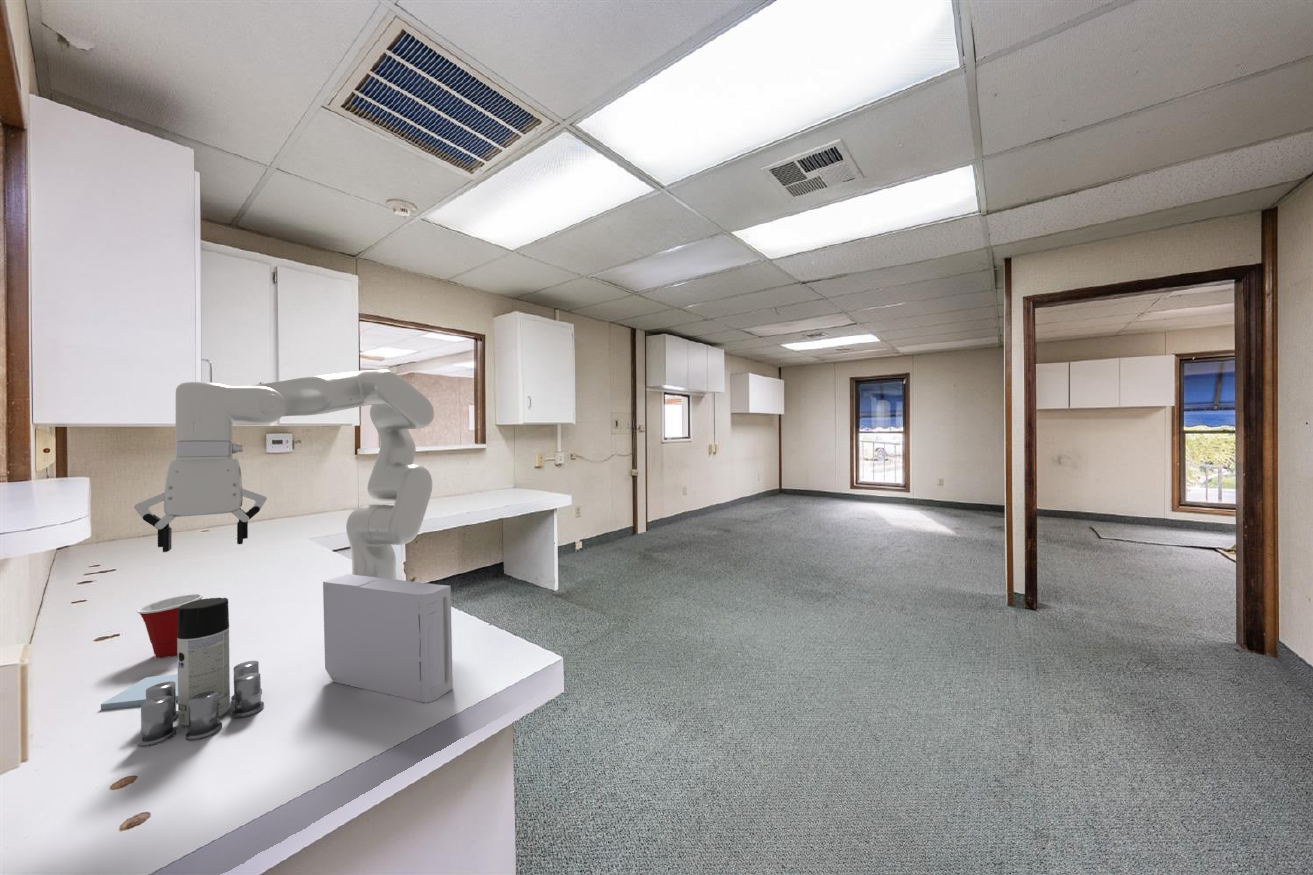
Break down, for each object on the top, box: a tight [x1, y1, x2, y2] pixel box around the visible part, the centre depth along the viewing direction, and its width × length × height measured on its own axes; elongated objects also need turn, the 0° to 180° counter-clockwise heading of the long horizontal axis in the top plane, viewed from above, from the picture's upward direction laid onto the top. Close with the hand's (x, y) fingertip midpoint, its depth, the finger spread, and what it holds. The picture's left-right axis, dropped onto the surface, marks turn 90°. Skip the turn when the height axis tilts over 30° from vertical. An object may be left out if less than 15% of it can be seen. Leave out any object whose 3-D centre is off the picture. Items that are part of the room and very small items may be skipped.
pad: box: [100, 673, 178, 711], centre depth 94 cm, size 13×10×1 cm
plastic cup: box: [136, 593, 204, 659], centre depth 111 cm, size 11×11×12 cm
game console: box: [322, 573, 454, 704], centre depth 95 cm, size 6×27×20 cm, turn 70°
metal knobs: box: [137, 660, 265, 748], centre depth 85 cm, size 17×16×6 cm
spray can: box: [177, 597, 231, 728], centre depth 85 cm, size 7×7×20 cm
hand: (204, 546), depth 87 cm, fingers open, 9 cm apart
